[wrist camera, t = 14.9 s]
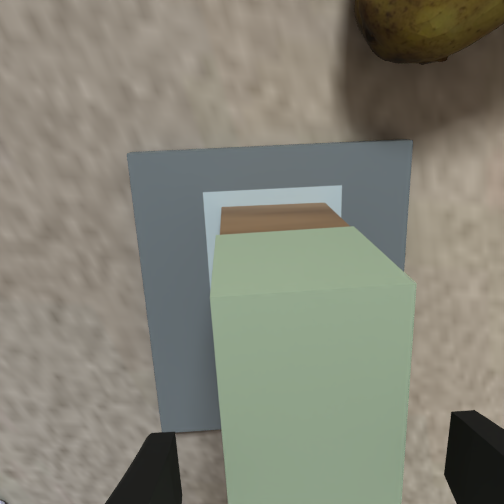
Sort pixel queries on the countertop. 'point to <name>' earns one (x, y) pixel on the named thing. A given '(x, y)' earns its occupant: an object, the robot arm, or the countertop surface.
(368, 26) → the potato
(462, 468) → the robot arm
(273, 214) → the walnut brick
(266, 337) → the green brick
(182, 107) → the countertop surface
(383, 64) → the countertop surface
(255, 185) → the board
